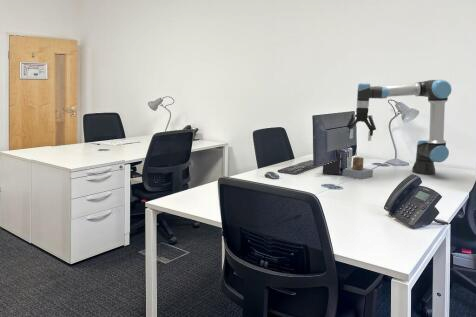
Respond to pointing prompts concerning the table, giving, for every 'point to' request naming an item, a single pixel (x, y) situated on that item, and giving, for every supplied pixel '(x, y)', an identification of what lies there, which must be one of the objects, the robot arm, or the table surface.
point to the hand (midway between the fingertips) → (360, 139)
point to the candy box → (349, 157)
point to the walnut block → (357, 163)
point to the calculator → (333, 166)
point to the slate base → (357, 173)
